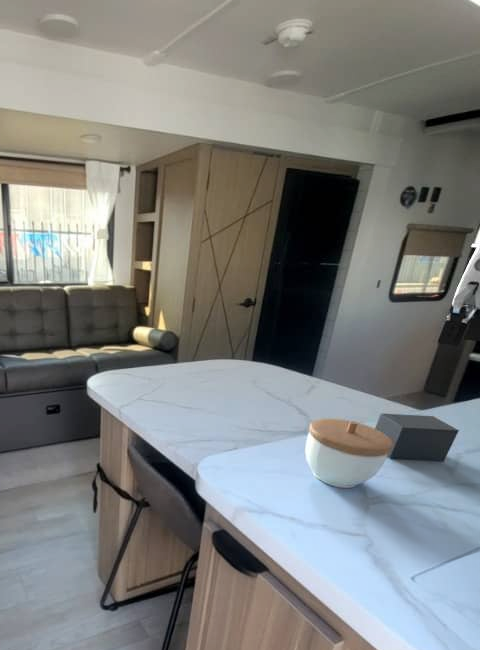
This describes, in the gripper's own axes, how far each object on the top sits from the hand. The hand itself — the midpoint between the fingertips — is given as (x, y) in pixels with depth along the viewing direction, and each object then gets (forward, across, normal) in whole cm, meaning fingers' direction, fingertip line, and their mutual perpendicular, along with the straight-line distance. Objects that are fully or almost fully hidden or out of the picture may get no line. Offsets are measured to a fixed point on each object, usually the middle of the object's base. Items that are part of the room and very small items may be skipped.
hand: (459, 342), depth 74 cm
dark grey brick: (+23, 0, +1) cm, 23 cm away
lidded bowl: (+23, -24, +2) cm, 34 cm away
